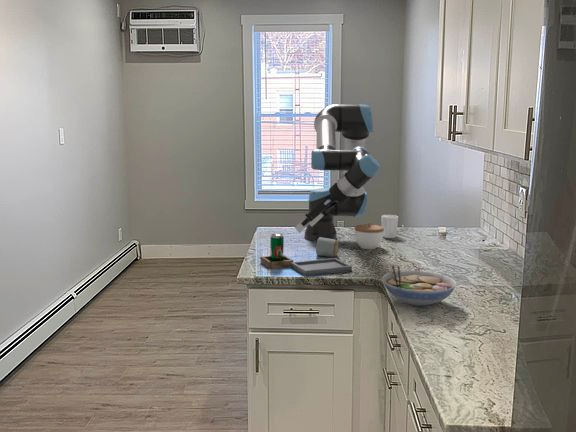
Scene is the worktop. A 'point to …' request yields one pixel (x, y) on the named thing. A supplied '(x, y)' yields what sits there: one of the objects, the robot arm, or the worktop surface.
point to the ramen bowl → (418, 286)
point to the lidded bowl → (368, 235)
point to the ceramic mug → (327, 247)
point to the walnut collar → (276, 262)
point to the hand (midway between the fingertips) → (303, 227)
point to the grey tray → (320, 267)
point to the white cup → (389, 225)
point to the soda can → (276, 247)
